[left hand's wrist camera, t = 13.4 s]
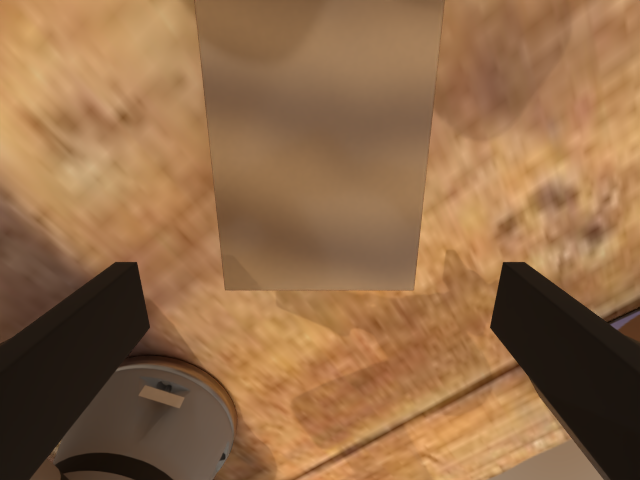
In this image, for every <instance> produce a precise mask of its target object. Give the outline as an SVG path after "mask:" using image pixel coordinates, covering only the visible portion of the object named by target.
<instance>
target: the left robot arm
mask: <svg viewBox="0 0 640 480" xmlns="http://www.w3.org/2000/svg"><path fill="white" fill-rule="evenodd" d="M149 328H150V325H149V320H148V315H147V310H146V305H145V300H144V295H143V290H142V285H141V280H140V275H139V270H138V265H137V262H115V263H114V264H112V265H111V266H110V267H108V268H107V269H105V270H104V271H103V272H101V273H100V274H99V275H97V276H96V277H94V278H93V279H92V280H90V281H89V282H88V283H86V284H85V285H84V286H82V287H81V288H79V289H78V290H77V291H75V292H74V293H73V294H71V295H70V296H68V297H67V298H66V299H64V300H63V301H62V302H60V303H59V304H58V305H56V306H55V307H53V308H52V309H51V310H49V311H48V312H47V313H45V314H44V315H42V316H41V317H40V318H38V319H37V320H36V321H34V322H33V323H32V324H30V325H29V326H27V327H26V328H25V329H23V330H22V331H21V332H19V333H18V334H16V335H15V336H14V337H12V338H11V339H9V340H7V341H5V342H3V343H0V480H213V479H214V477H215V475H216V473H217V472H218V471H219V470H220V468H221V467H222V465H223V464H224V462H225V461H226V459H227V457H228V456H229V454H230V451H231V448H232V445H233V441H234V437H235V434H236V429H237V414H236V410H235V407H234V404H233V402H232V400H231V398H230V396H229V395H228V393H227V392H226V390H225V389H224V388H223V387H222V386H221V385H220V384H219V383H218V382H217V381H216V380H215V379H214V378H213V377H212V376H210V375H209V374H207V373H206V372H204V371H203V370H201V369H199V368H197V367H195V366H193V365H191V364H189V363H186V362H184V361H180V360H177V359H173V358H169V357H163V356H136V357H130V358H126V357H127V356H128V355H129V353H130V352H131V351H132V350H133V348H134V347H135V346H136V345H137V343H138V342H139V341H140V340H141V338H142V337H143V336H144V334H145V333H146V332H147V331H148V329H149ZM490 328H491V329H492V331H493V332H494V333H495V334H496V336H497V337H498V338H499V340H500V341H501V342H502V343H503V345H504V346H505V347H506V348H507V350H508V351H509V352H510V353H511V355H512V356H513V357H514V359H515V360H516V361H517V362H518V364H519V365H520V366H521V367H522V369H523V370H524V371H525V372H526V374H527V375H528V376H529V377H530V379H531V380H532V381H533V383H534V384H535V385H536V386H537V388H538V389H539V390H540V391H541V393H542V394H543V395H544V396H545V398H546V399H547V400H548V401H549V403H550V404H551V405H552V407H553V408H554V409H555V410H556V412H557V413H558V414H559V415H560V417H561V418H562V419H563V420H564V422H565V423H566V424H567V425H568V427H569V428H570V429H571V431H572V432H573V433H574V434H575V436H576V437H577V438H578V439H579V441H580V442H581V443H582V444H583V446H584V447H585V448H586V449H587V451H588V452H589V453H590V455H591V456H592V457H593V458H594V460H595V461H596V462H597V463H598V465H599V466H600V467H601V468H602V470H603V471H604V472H605V473H606V475H607V476H608V477H609V479H610V480H640V342H639V341H637V340H635V339H632V338H630V337H628V336H626V335H624V334H622V333H621V332H619V331H618V330H617V329H615V328H614V327H613V326H611V325H610V324H608V323H607V322H606V321H604V320H603V319H602V318H600V317H599V316H598V315H596V314H595V313H593V312H592V311H591V310H589V309H588V308H587V307H585V306H584V305H582V304H581V303H580V302H578V301H577V300H576V299H574V298H573V297H572V296H570V295H569V294H567V293H566V292H565V291H563V290H562V289H561V288H559V287H558V286H556V285H555V284H554V283H552V282H551V281H550V280H548V279H547V278H546V277H544V276H543V275H541V274H540V273H539V272H537V271H536V270H535V269H533V268H532V267H530V266H529V265H528V264H526V263H525V262H503V265H502V270H501V275H500V280H499V285H498V290H497V295H496V300H495V305H494V310H493V315H492V320H491V325H490ZM61 439H62V441H61ZM60 441H61V444H60V446H59V449H58V451H57V454H56V457H55V459H54V462H53V463H52V462H51V461H49V460H48V459H47V457H48V456H49V455H50V453H51V452H52V451H53V449H54V448H55V447H56V446H57V444H58V443H59V442H60Z"/></svg>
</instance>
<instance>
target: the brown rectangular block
mask: <svg viewBox="0 0 640 480" xmlns="http://www.w3.org/2000/svg"><path fill="white" fill-rule="evenodd" d="M194 1H195V10H196V20H197V29H198V39H199V48H200V58H201V67H202V77H203V86H204V96H205V105H206V115H207V124H208V133H209V143H210V152H211V162H212V171H213V181H214V190H215V200H216V209H217V219H218V228H219V238H220V247H221V257H222V266H223V276H224V285H225V290H414V284H415V275H416V266H417V256H418V247H419V237H420V228H421V218H422V209H423V200H424V190H425V181H426V171H427V162H428V153H429V143H430V134H431V124H432V115H433V105H434V96H435V87H436V77H437V68H438V58H439V49H440V39H441V30H442V21H443V11H444V2H445V0H194Z"/></svg>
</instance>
